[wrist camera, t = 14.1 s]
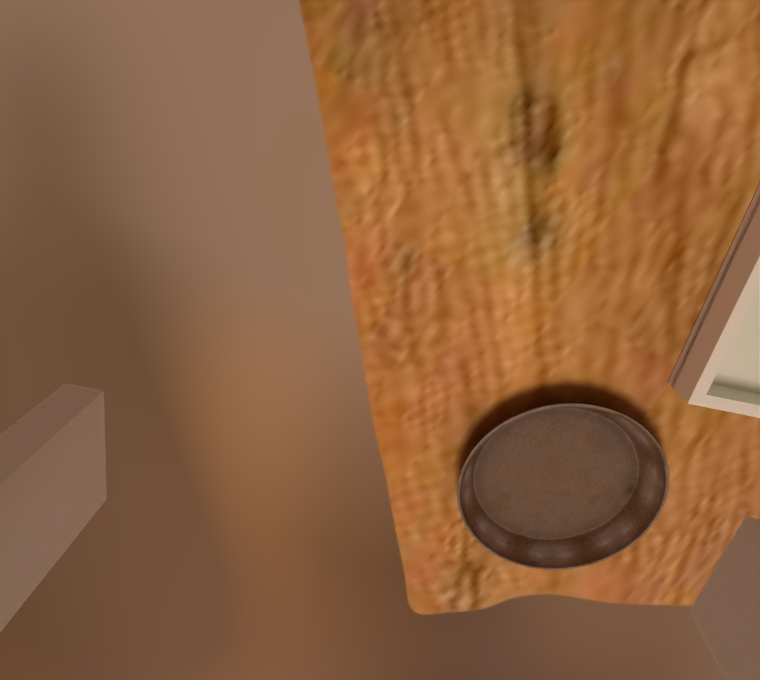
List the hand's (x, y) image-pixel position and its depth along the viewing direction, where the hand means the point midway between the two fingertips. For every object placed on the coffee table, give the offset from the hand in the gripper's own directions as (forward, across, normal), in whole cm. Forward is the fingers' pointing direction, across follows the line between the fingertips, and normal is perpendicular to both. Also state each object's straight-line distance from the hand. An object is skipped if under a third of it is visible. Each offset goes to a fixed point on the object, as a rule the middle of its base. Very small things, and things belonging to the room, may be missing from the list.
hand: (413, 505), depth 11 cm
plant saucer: (+32, +17, -20) cm, 42 cm away
